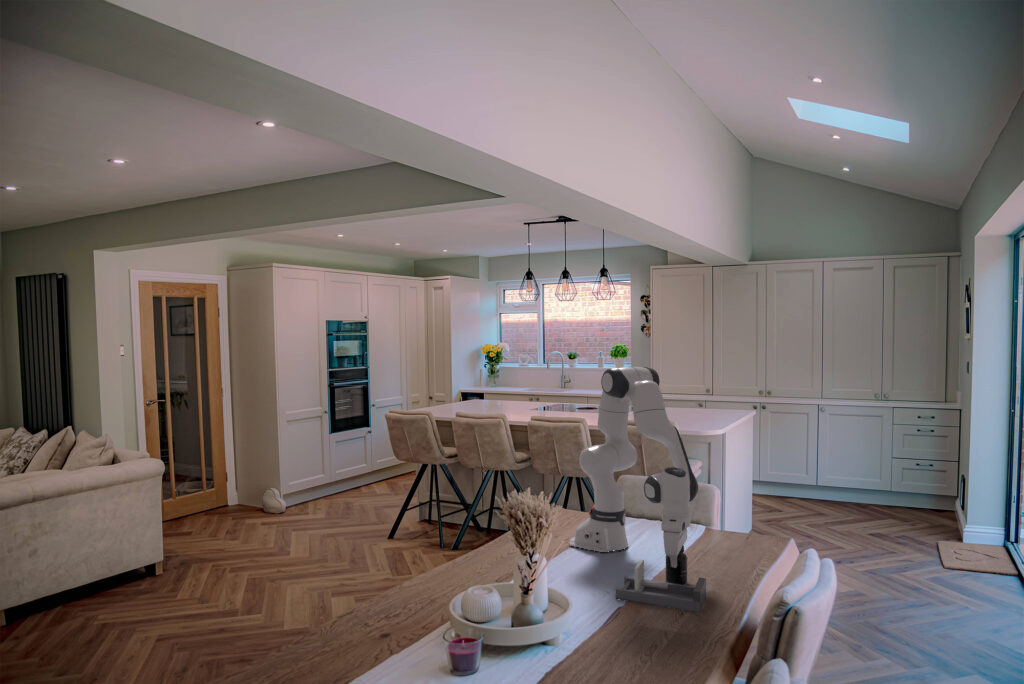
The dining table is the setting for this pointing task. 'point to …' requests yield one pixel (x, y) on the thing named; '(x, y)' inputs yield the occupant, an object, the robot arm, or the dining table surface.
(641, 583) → the pusher
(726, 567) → the dining table surface
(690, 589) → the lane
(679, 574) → the supplement bottle
